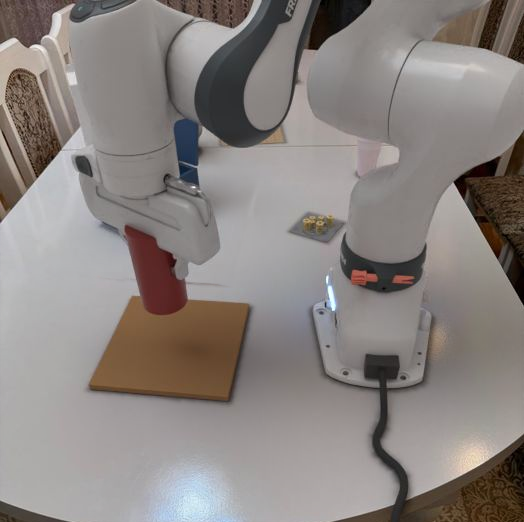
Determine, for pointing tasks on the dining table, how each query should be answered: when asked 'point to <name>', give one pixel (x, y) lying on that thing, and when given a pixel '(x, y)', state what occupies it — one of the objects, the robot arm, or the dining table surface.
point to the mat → (174, 351)
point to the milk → (79, 105)
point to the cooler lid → (187, 141)
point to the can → (155, 274)
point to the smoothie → (367, 155)
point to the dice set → (317, 227)
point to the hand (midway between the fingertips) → (159, 265)
